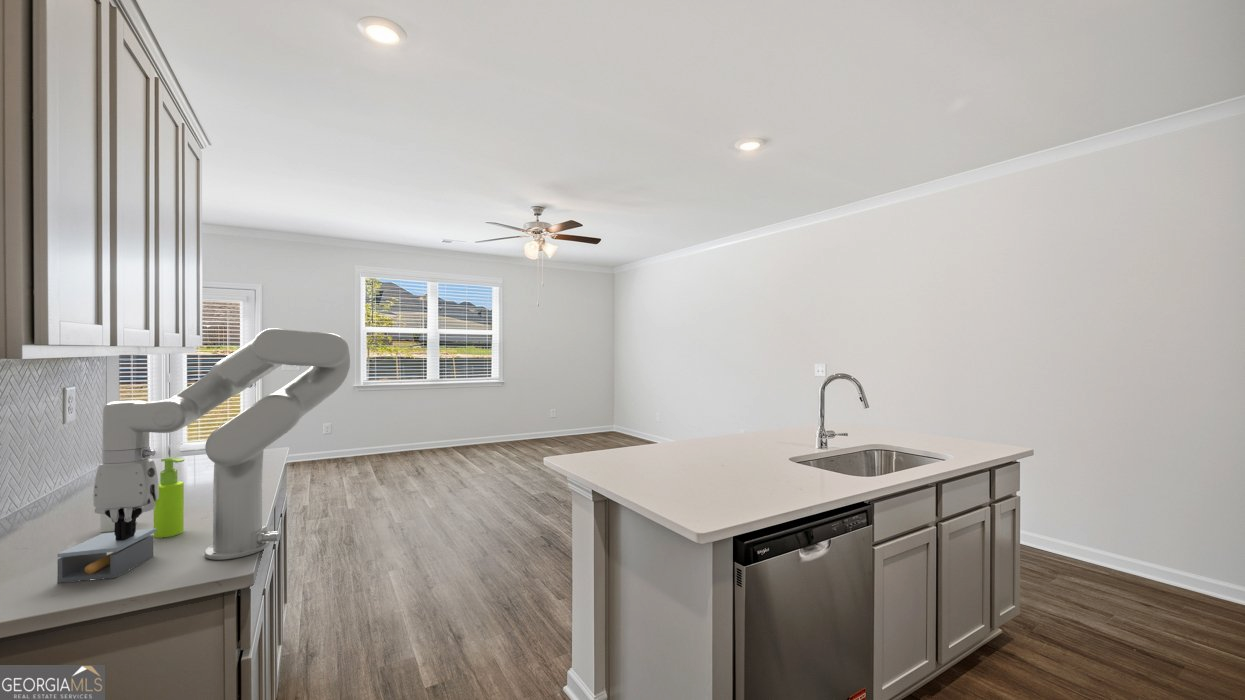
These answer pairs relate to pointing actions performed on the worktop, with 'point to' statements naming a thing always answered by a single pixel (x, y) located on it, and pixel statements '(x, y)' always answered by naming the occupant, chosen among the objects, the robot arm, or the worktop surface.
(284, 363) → the robot arm
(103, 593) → the worktop surface
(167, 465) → the soap dispenser
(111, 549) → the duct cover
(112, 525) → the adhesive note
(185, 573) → the worktop surface
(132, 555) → the cable duct
